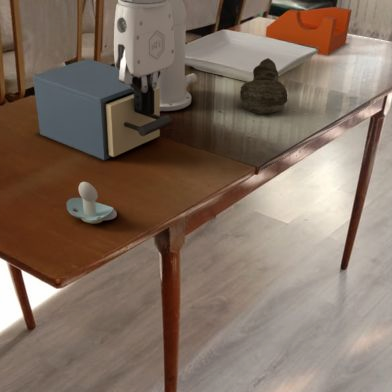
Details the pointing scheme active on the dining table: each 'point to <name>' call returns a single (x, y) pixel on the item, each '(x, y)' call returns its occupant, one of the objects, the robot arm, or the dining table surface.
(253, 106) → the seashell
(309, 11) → the tape dispenser
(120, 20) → the robot arm
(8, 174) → the dining table surface
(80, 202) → the pacifier
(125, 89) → the cabinet
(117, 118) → the drawer
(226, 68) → the square plate
